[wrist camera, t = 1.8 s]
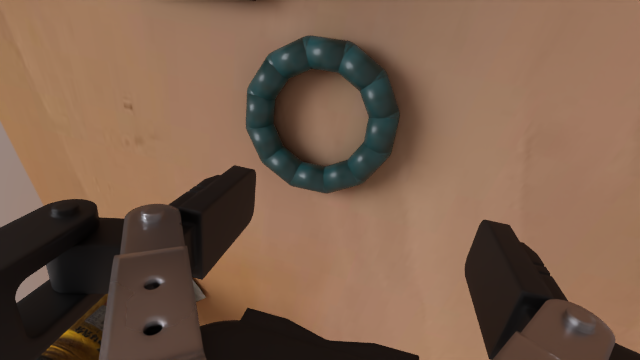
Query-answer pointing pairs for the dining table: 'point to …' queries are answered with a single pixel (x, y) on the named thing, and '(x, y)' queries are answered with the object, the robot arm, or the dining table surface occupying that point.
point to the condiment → (87, 334)
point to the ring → (355, 70)
